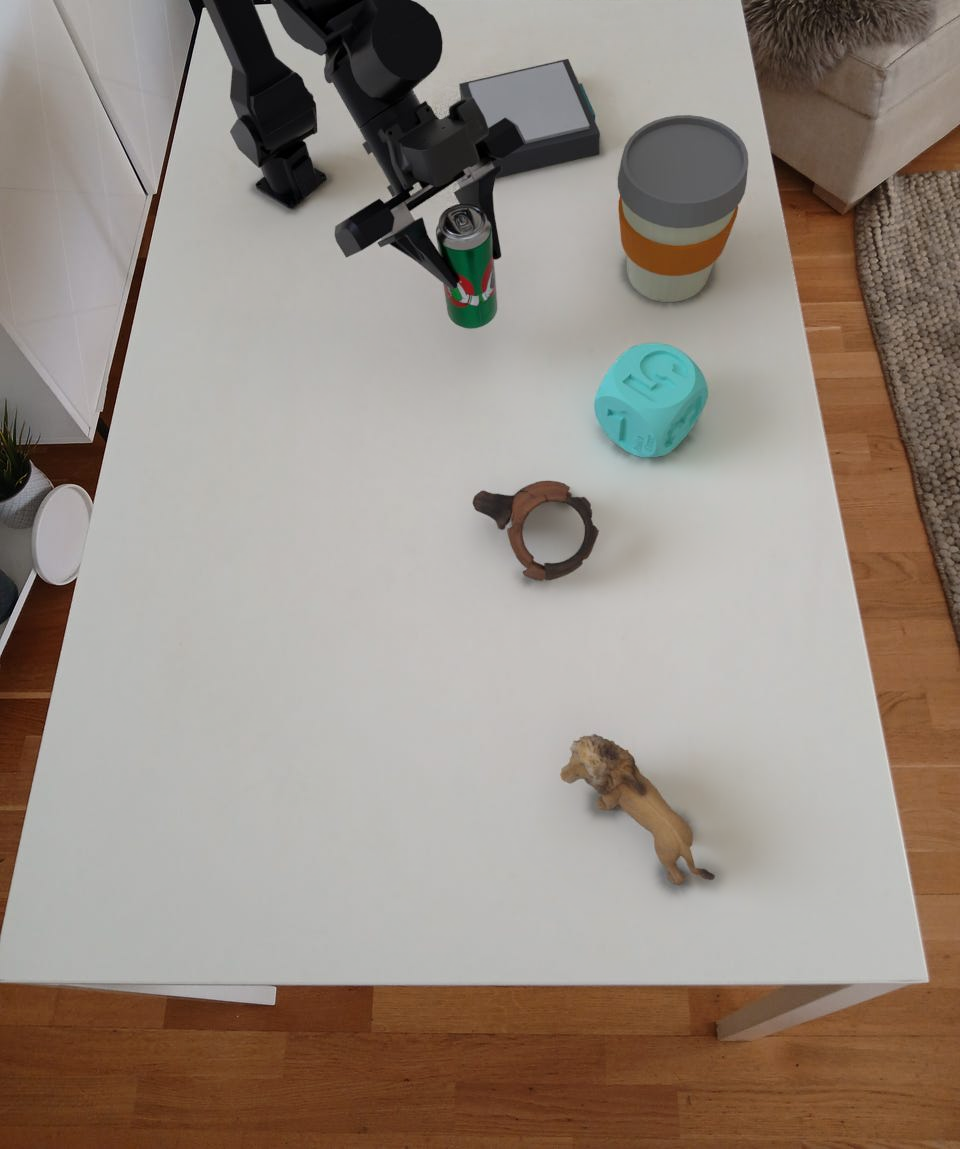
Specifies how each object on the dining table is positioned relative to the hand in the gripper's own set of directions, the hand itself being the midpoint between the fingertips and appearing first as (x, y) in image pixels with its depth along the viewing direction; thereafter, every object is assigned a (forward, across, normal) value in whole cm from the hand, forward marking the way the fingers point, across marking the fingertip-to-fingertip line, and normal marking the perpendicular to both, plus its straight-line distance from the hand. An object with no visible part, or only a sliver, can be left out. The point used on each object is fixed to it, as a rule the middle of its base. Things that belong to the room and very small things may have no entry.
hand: (476, 273), depth 85 cm
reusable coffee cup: (+12, +23, +7) cm, 27 cm away
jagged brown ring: (+23, -10, -4) cm, 25 cm away
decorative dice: (+22, +7, -3) cm, 23 cm away
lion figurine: (+41, -21, -22) cm, 51 cm away
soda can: (+4, 0, +6) cm, 7 cm away
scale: (-7, +27, +27) cm, 39 cm away
